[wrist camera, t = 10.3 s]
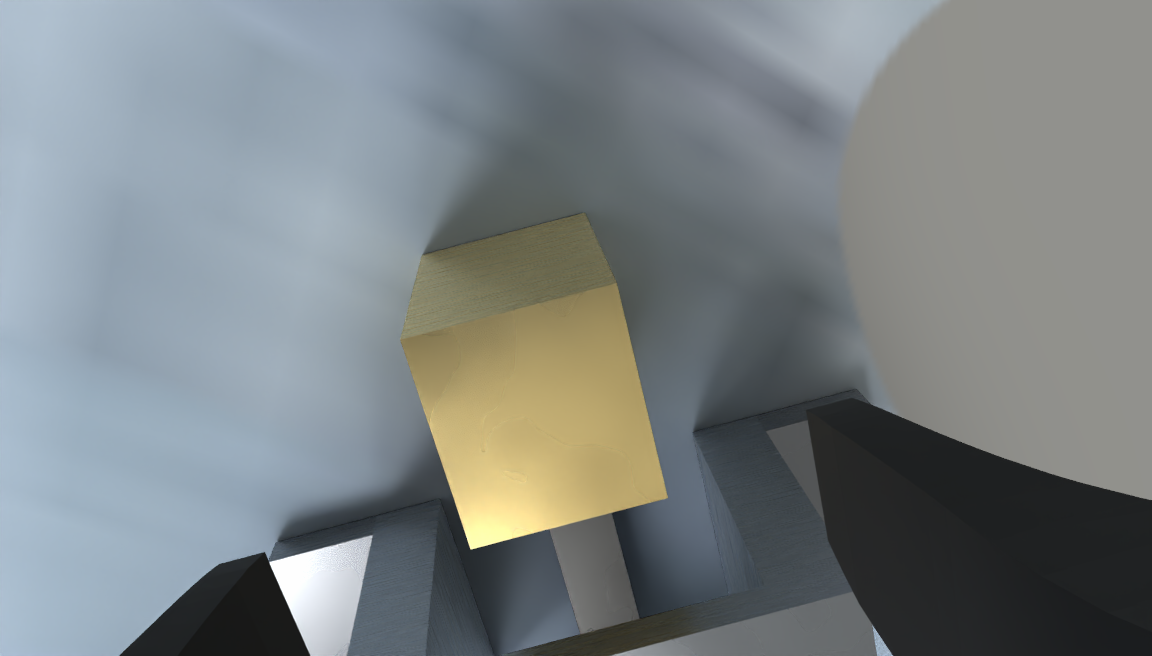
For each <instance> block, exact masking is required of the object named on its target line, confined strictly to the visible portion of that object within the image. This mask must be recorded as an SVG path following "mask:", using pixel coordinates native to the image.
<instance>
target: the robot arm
mask: <svg viewBox="0 0 1152 656" xmlns="http://www.w3.org/2000/svg"><path fill="white" fill-rule="evenodd" d="M806 414H807V420H808V426H809V432H810V438H811V444H812V450H813V455H814V461H815V467H816V473H817V479H818V485H819V491H820V497H821V503H822V509H823V514H824V520H825V526H826V532H827V538H828V542H829V544H830V546H831V548H832V550H833V552H834V554H835V557H836V559H837V561H838V563H839V565H840V567H841V569H842V571H843V573H844V575H845V577H846V579H847V581H848V583H849V585H850V587H851V589H852V591H853V593H854V595H855V597H856V599H857V601H858V603H859V605H860V606H861V608H862V609H863V611H864V612H865V614H866V615H867V617H868V619H869V620H870V622H871V623H872V625H873V626H874V628H875V629H876V631H877V632H878V634H879V635H880V637H881V638H882V640H883V641H884V643H885V644H886V646H887V647H888V649H889V650H890V652H891V653H892V655H893V656H1152V500H1147V499H1143V498H1139V497H1135V496H1130V495H1126V494H1123V493H1119V492H1115V491H1111V490H1107V489H1103V488H1099V487H1095V486H1091V485H1087V484H1083V483H1080V482H1076V481H1073V480H1069V479H1066V478H1062V477H1059V476H1056V475H1052V474H1049V473H1046V472H1043V471H1040V470H1037V469H1034V468H1031V467H1028V466H1025V465H1022V464H1019V463H1016V462H1013V461H1010V460H1007V459H1004V458H1002V457H999V456H996V455H994V454H991V453H988V452H985V451H983V450H980V449H977V448H975V447H972V446H970V445H967V444H964V443H962V442H959V441H957V440H954V439H952V438H949V437H947V436H944V435H942V434H939V433H937V432H934V431H932V430H930V429H928V428H925V427H923V426H920V425H918V424H916V423H913V422H911V421H909V420H906V419H904V418H902V417H899V416H897V415H895V414H892V413H890V412H887V411H885V410H883V409H880V408H878V407H875V406H873V405H871V404H868V403H865V402H863V401H860V400H857V399H854V398H849V399H845V400H841V401H837V402H834V403H830V404H826V405H822V406H818V407H815V408H811V409H807V410H806ZM119 656H310V654H309V651H308V649H307V647H306V645H305V642H304V640H303V638H302V635H301V633H300V631H299V629H298V626H297V624H296V622H295V620H294V617H293V615H292V613H291V611H290V608H289V606H288V604H287V601H286V599H285V597H284V595H283V592H282V590H281V588H280V586H279V583H278V581H277V579H276V577H275V574H274V572H273V570H272V567H271V565H270V563H269V561H268V558H267V556H266V554H265V552H264V553H260V554H256V555H252V556H248V557H245V558H241V559H237V560H233V561H229V562H226V563H222V564H219V565H218V566H216V567H215V568H214V569H212V570H211V571H210V572H208V573H207V574H206V575H205V576H203V577H202V578H201V579H200V580H199V581H198V582H197V583H195V584H194V585H193V586H192V587H191V588H190V589H189V590H188V591H187V592H186V593H184V594H183V595H182V596H181V597H180V598H179V599H178V600H177V601H176V602H175V603H174V604H173V605H172V606H171V607H170V608H169V609H167V610H166V611H165V612H164V613H163V614H162V615H161V616H160V617H159V618H158V619H157V620H156V621H155V622H154V623H153V624H152V625H151V626H150V627H149V628H148V629H147V630H146V631H145V632H144V633H142V634H141V635H140V636H139V637H138V638H137V639H136V640H135V641H134V642H133V643H132V644H131V645H130V646H129V647H128V648H127V649H126V650H125V651H124V652H123V653H122V654H121V655H119Z"/></svg>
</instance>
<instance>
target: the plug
mask: <svg viewBox="0 0 1152 656" xmlns="http://www.w3.org/2000/svg"><path fill="white" fill-rule="evenodd" d="M400 341H401V344H402V347H403V349H404V352H405V355H406V358H407V361H408V364H409V367H410V370H411V373H412V376H413V379H414V382H415V385H416V388H417V391H418V394H419V397H420V400H421V403H422V406H423V409H424V412H425V415H426V418H427V421H428V424H429V427H430V430H431V433H432V436H433V439H434V442H435V445H436V448H437V451H438V454H439V456H440V459H441V462H442V465H443V468H444V471H445V474H446V477H447V480H448V483H449V486H450V489H451V492H452V495H453V498H454V501H455V504H456V507H457V510H458V513H459V516H460V519H461V522H462V525H463V528H464V531H465V534H466V537H467V540H468V543H469V546H470V549H474V548H478V547H482V546H486V545H490V544H494V543H497V542H501V541H505V540H509V539H513V538H517V537H520V536H524V535H528V534H532V533H536V532H540V531H543V530H547V529H549V530H550V533H551V537H552V540H553V543H554V547H555V550H556V554H557V557H558V560H559V564H560V567H561V570H562V574H563V577H564V581H565V584H566V587H567V591H568V594H569V597H570V601H571V604H572V608H573V611H574V614H575V618H576V621H577V624H578V628H579V631H580V634H584V633H587V632H591V631H595V630H599V629H602V628H606V627H610V626H614V625H618V624H621V623H625V622H629V621H633V620H636V619H640V616H639V612H638V609H637V605H636V601H635V597H634V593H633V590H632V586H631V582H630V578H629V575H628V571H627V567H626V563H625V559H624V556H623V552H622V548H621V544H620V541H619V537H618V533H617V529H616V525H615V522H614V518H613V514H612V513H613V512H616V511H620V510H624V509H628V508H632V507H636V506H639V505H643V504H647V503H651V502H655V501H659V500H662V499H666V498H668V497H667V492H666V488H665V484H664V480H663V476H662V471H661V467H660V463H659V459H658V454H657V450H656V446H655V442H654V438H653V433H652V429H651V425H650V421H649V416H648V412H647V408H646V404H645V400H644V395H643V391H642V387H641V383H640V379H639V374H638V370H637V366H636V362H635V357H634V353H633V349H632V345H631V341H630V336H629V332H628V328H627V324H626V319H625V315H624V311H623V307H622V303H621V298H620V294H619V290H618V286H617V282H616V280H615V278H614V276H613V274H612V271H611V269H610V267H609V265H608V262H607V260H606V258H605V256H604V254H603V251H602V249H601V247H600V245H599V243H598V240H597V238H596V236H595V234H594V232H593V229H592V227H591V225H590V223H589V221H588V218H587V216H586V214H585V213H581V214H577V215H574V216H570V217H566V218H562V219H558V220H554V221H550V222H547V223H543V224H539V225H535V226H531V227H527V228H524V229H520V230H516V231H512V232H508V233H504V234H500V235H497V236H493V237H489V238H485V239H481V240H477V241H473V242H470V243H466V244H462V245H458V246H454V247H450V248H447V249H443V250H439V251H435V252H431V253H427V254H423V255H422V257H421V261H420V265H419V269H418V272H417V276H416V280H415V284H414V288H413V292H412V296H411V300H410V304H409V307H408V311H407V315H406V319H405V323H404V327H403V331H402V335H401V338H400Z"/></svg>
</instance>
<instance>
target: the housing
mask: <svg viewBox="0 0 1152 656" xmlns="http://www.w3.org/2000/svg"><path fill="white" fill-rule="evenodd" d="M849 398H854V399H857V400H860V401H863V402H865V403H868V404H870V403H869V402H868V401H867V400H866V399H865V398H864V397H863V395H862V394H861V393H860V392H859V391H858V390H857V389H855V390H851V391H847V392H844V393H840V394H836V395H832V396H828V397H825V398H821V399H817V400H813V401H810V402H806V403H802V404H798V405H794V406H791V407H787V408H783V409H779V410H775V411H772V412H768V413H764V414H760V415H756V416H753V417H749V418H745V419H741V420H738V421H734V422H730V423H726V424H722V425H719V426H715V427H711V428H707V429H703V430H700V431H696V432H693V437H694V441H695V446H696V450H697V455H698V459H699V464H700V468H701V473H702V477H703V482H704V486H705V491H706V495H707V500H708V504H709V509H710V513H711V518H712V522H713V526H714V531H715V535H716V540H717V544H718V549H719V553H720V558H721V562H722V567H723V571H724V576H725V580H726V585H727V589H728V594H729V595H727V596H723V597H720V598H716V599H712V600H708V601H705V602H701V603H697V604H693V605H689V606H686V607H682V608H678V609H674V610H671V611H667V612H663V613H659V614H655V615H652V616H648V617H644V618H640V619H636V620H633V621H629V622H625V623H621V624H618V625H614V626H610V627H606V628H602V629H599V630H595V631H591V632H587V633H584V634H580V635H576V636H572V637H568V638H565V639H561V640H557V641H553V642H549V643H546V644H542V645H538V646H534V647H531V648H527V649H523V650H519V651H515V652H512V653H508V654H504V655H500V656H877V653H876V647H875V640H874V634H873V628H872V623H871V622H870V620H869V619H868V617H867V615H866V614H865V612H864V611H863V609H862V608H861V606H860V605H859V603H858V601H857V599H856V597H855V595H854V593H853V591H852V589H851V587H850V585H849V583H848V581H847V579H846V577H845V575H844V573H843V571H842V569H841V567H840V565H839V563H838V561H837V559H836V557H835V554H834V552H833V550H832V548H831V546H830V544H829V542H828V538H827V532H826V526H825V520H824V514H823V509H822V503H821V497H820V491H819V485H818V479H817V473H816V467H815V461H814V455H813V450H812V444H811V438H810V432H809V426H808V420H807V414H806V410H807V409H811V408H815V407H818V406H822V405H826V404H830V403H834V402H837V401H841V400H845V399H849ZM269 563H270V565H271V567H272V570H273V572H274V574H275V577H276V579H277V581H278V583H279V586H280V588H281V590H282V592H283V595H284V597H285V599H286V601H287V604H288V606H289V608H290V611H291V613H292V615H293V617H294V620H295V622H296V624H297V626H298V629H299V631H300V633H301V635H302V638H303V640H304V642H305V645H306V647H307V649H308V651H309V654H310V656H494V653H493V650H492V647H491V644H490V641H489V639H488V636H487V633H486V630H485V627H484V624H483V621H482V618H481V615H480V613H479V610H478V607H477V604H476V601H475V598H474V595H473V592H472V590H471V587H470V584H469V581H468V578H467V575H466V572H465V569H464V567H463V564H462V561H461V558H460V555H459V552H458V549H457V546H456V543H455V541H454V538H453V535H452V532H451V529H450V526H449V523H448V520H447V518H446V515H445V512H444V509H443V506H442V503H441V500H440V499H438V500H435V501H431V502H427V503H423V504H419V505H416V506H412V507H408V508H404V509H400V510H397V511H393V512H389V513H385V514H381V515H378V516H374V517H370V518H366V519H363V520H359V521H355V522H351V523H347V524H344V525H340V526H336V527H332V528H328V529H325V530H321V531H317V532H313V533H310V534H306V535H302V536H298V537H294V538H291V539H287V540H283V541H279V542H276V543H275V546H274V548H273V551H272V554H271V556H270V559H269Z"/></svg>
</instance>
